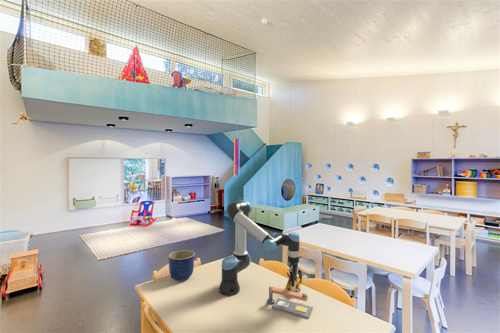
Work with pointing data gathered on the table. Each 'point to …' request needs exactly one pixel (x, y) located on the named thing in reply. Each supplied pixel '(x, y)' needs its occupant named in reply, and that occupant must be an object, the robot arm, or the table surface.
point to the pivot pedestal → (270, 302)
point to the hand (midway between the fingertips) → (293, 290)
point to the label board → (292, 308)
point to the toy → (290, 284)
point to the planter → (181, 264)
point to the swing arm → (286, 294)
